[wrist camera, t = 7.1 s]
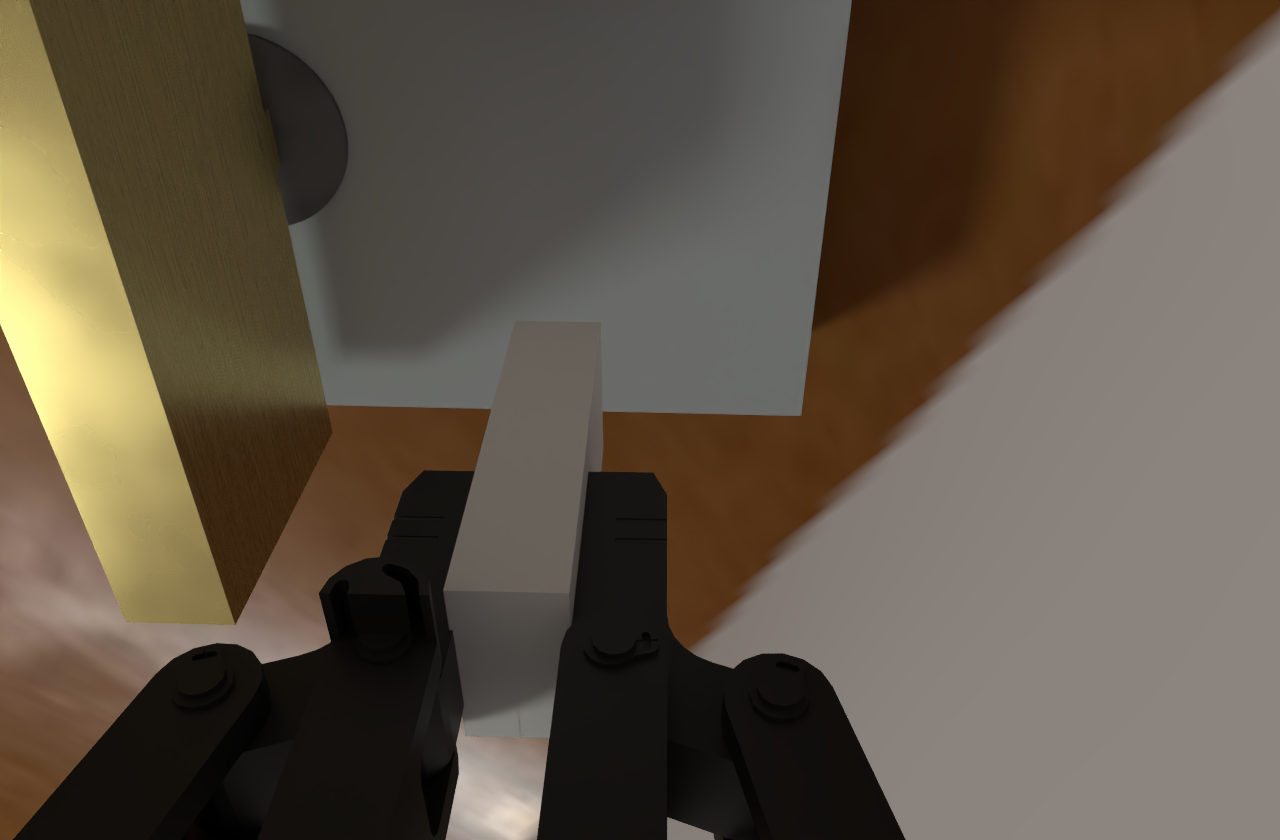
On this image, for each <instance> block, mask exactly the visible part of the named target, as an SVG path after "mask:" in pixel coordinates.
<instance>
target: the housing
mask: <svg viewBox="0 0 1280 840" xmlns="http://www.w3.org/2000/svg"><path fill="white" fill-rule="evenodd" d="M240 2H241V7H242V12H243V17H244V21H245V26H246V31H247V35H248V40H249V45H250V49H251V54H252V59H253V63H254V68H255V73H256V77H257V82H258V87H259V91H260V96H261V101H262V105H263V108H264V109H269V113H270V118H271V123H272V128H273V132H274V137H275V142H276V147H277V151H278V156H279V161H280V166H281V167H280V168H279V169H278V170H277V175H278V180H279V185H280V189H281V194H282V199H283V203H284V208H285V213H286V218H287V222H288V227H289V232H290V236H291V241H292V246H293V250H294V255H295V260H296V264H297V269H298V274H299V278H300V283H301V288H302V292H303V297H304V302H305V306H306V311H307V316H308V320H309V325H310V330H311V334H312V339H313V344H314V348H315V353H316V358H317V362H318V367H319V372H320V376H321V381H322V386H323V390H324V395H325V400H326V404H327V405H348V406H392V407H436V408H479V409H492V405H493V402H494V398H495V394H496V390H497V386H498V383H499V379H500V375H501V371H502V368H503V364H504V360H505V356H506V353H507V349H508V345H509V341H510V338H511V334H512V330H513V326H514V323H515V321H552V322H601V362H602V411H610V412H654V413H698V414H741V415H785V416H801V411H802V403H803V395H804V386H805V378H806V370H807V362H808V354H809V346H810V338H811V329H812V321H813V313H814V305H815V297H816V289H817V280H818V272H819V264H820V256H821V248H822V240H823V232H824V223H825V215H826V207H827V199H828V191H829V183H830V174H831V166H832V158H833V150H834V142H835V134H836V126H837V117H838V109H839V101H840V93H841V85H842V77H843V69H844V60H845V52H846V44H847V36H848V28H849V20H850V11H851V3H852V0H240Z"/></svg>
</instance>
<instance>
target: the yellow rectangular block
mask: <svg viewBox="0 0 1280 840" xmlns="http://www.w3.org/2000/svg"><path fill="white" fill-rule="evenodd" d="M280 167H281V166H280V161H279V156H278V151H277V147H276V142H275V137H274V132H273V128H272V123H271V118H270V113H269V109H264V108H263V105H262V101H261V96H260V91H259V87H258V82H257V77H256V73H255V68H254V63H253V59H252V54H251V49H250V45H249V40H248V35H247V31H246V26H245V21H244V17H243V12H242V7H241V2H240V0H0V324H1V327H2V329H3V331H4V334H5V336H6V338H7V341H8V343H9V346H10V348H11V350H12V353H13V355H14V357H15V360H16V362H17V365H18V367H19V369H20V372H21V374H22V376H23V379H24V381H25V384H26V386H27V388H28V391H29V393H30V395H31V398H32V400H33V403H34V405H35V407H36V410H37V412H38V414H39V417H40V419H41V422H42V424H43V426H44V429H45V431H46V433H47V436H48V438H49V441H50V443H51V445H52V448H53V450H54V452H55V455H56V457H57V460H58V462H59V464H60V467H61V469H62V471H63V474H64V476H65V479H66V481H67V483H68V486H69V488H70V490H71V493H72V495H73V498H74V500H75V502H76V505H77V507H78V509H79V512H80V514H81V517H82V519H83V521H84V524H85V526H86V528H87V531H88V533H89V536H90V538H91V540H92V543H93V545H94V547H95V550H96V552H97V555H98V557H99V559H100V562H101V564H102V566H103V569H104V571H105V574H106V576H107V578H108V581H109V583H110V585H111V588H112V590H113V593H114V595H115V597H116V600H117V602H118V604H119V607H120V609H121V612H122V614H123V616H124V619H125V621H126V622H144V623H180V624H215V625H236V623H237V621H238V619H239V617H240V615H241V613H242V611H243V609H244V607H245V605H246V603H247V601H248V599H249V597H250V595H251V593H252V591H253V589H254V587H255V585H256V583H257V581H258V579H259V577H260V575H261V573H262V571H263V569H264V567H265V565H266V563H267V561H268V559H269V557H270V555H271V553H272V551H273V549H274V547H275V545H276V543H277V541H278V540H279V538H280V536H281V534H282V532H283V530H284V528H285V526H286V524H287V522H288V520H289V518H290V516H291V514H292V512H293V510H294V508H295V506H296V504H297V502H298V500H299V498H300V496H301V494H302V492H303V490H304V488H305V486H306V484H307V482H308V480H309V478H310V476H311V474H312V472H313V470H314V468H315V466H316V464H317V462H318V460H319V458H320V456H321V454H322V453H323V451H324V449H325V447H326V445H327V443H328V441H329V439H330V437H331V435H332V428H331V423H330V418H329V414H328V409H327V404H326V400H325V395H324V390H323V386H322V381H321V376H320V372H319V367H318V362H317V358H316V353H315V348H314V344H313V339H312V334H311V330H310V325H309V320H308V316H307V311H306V306H305V302H304V297H303V292H302V288H301V283H300V278H299V274H298V269H297V264H296V260H295V255H294V250H293V246H292V241H291V236H290V232H289V227H288V222H287V218H286V213H285V208H284V203H283V199H282V194H281V189H280V185H279V180H278V175H277V170H278V169H279V168H280Z"/></svg>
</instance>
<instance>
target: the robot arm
mask: <svg viewBox="0 0 1280 840" xmlns="http://www.w3.org/2000/svg"><path fill="white" fill-rule="evenodd" d="M602 455H603V414H602V362H601V322H552V321H515V323H514V326H513V330H512V334H511V338H510V341H509V345H508V349H507V353H506V356H505V360H504V364H503V368H502V371H501V375H500V379H499V383H498V386H497V390H496V394H495V398H494V402H493V405H492V409H491V413H490V417H489V420H488V424H487V428H486V432H485V435H484V439H483V443H482V447H481V450H480V454H479V458H478V462H477V465H476V469H475V471H423V472H422V473H421V474H420V475H419V476H418V477H417V478H416V479H415V480H414V481H413V482H412V483H411V484H410V485H409V486H408V487H407V488H406V489H405V490H404V491H403V493H402V496H401V499H400V501H399V504H398V507H397V510H396V513H395V515H394V517H395V518H394V520H393V521H392V524H391V527H390V530H389V532H388V539H387V540H386V541H385V544H384V546H383V549H382V552H381V555H380V557H377V558H368V559H364V560H361V561H359V562H356V563H353V564H351V565H348V566H345V567H344V568H343V569H341V570H340V571H339V572H337V573H336V574H335V575H333V576H332V577H330V578H329V579H328V581H327V582H326V584H325V585H324V587H323V588H322V589H321V591H320V592H319V596H320V600H321V604H322V608H323V611H324V615H325V619H326V623H327V627H328V631H329V635H330V639H331V643H329V644H327V645H325V646H324V647H322V648H320V649H318V650H315V651H312V652H309V653H306V654H303V655H299V656H295V657H291V658H287V659H282V660H278V661H274V662H269V663H265V664H261V663H260V661H259V660H258V658H257V657H256V656H255V654H254V653H253V652H252V651H250V650H248V649H246V648H244V647H241V646H239V645H237V644H220V643H216V644H211V645H207V646H202V647H198V648H194V649H192V650H190V651H188V652H186V653H184V654H182V655H180V656H178V657H176V658H174V659H172V660H171V661H170V662H169V663H168V664H167V665H166V666H164V667H163V668H162V669H161V670H160V671H159V672H158V673H156V674H155V676H154V677H153V678H152V679H151V680H150V681H149V682H148V684H147V685H146V686H145V687H144V688H143V689H142V691H141V692H140V693H139V694H138V695H137V696H136V698H135V699H134V700H133V701H132V702H131V703H130V705H129V706H128V707H127V708H126V709H125V710H124V711H123V713H122V714H121V715H120V716H119V717H118V718H117V720H116V721H115V722H114V723H113V724H112V725H111V727H110V728H109V729H108V730H107V731H106V732H105V733H104V735H103V736H102V737H101V738H100V739H99V740H98V742H97V743H96V744H95V745H94V746H93V747H92V749H91V750H90V751H89V752H88V753H87V754H86V756H85V757H84V758H83V759H82V760H81V761H80V762H79V764H78V765H77V766H76V767H75V768H74V769H73V771H72V772H71V773H70V774H69V775H68V776H67V778H66V779H65V780H64V781H63V782H62V783H61V784H60V786H59V787H58V788H57V789H56V790H55V791H54V793H53V794H52V795H51V796H50V797H49V798H48V800H47V801H46V802H45V803H44V804H43V805H42V806H41V808H40V809H39V810H38V811H37V812H36V813H35V815H34V816H33V817H32V818H31V819H30V820H29V822H28V823H27V824H26V825H25V826H24V827H23V829H22V830H21V831H20V832H19V833H18V834H17V835H16V837H15V838H14V839H13V840H445V839H446V834H447V829H448V824H449V819H450V814H451V809H452V804H453V799H454V794H455V789H456V784H457V779H458V774H459V767H458V753H457V747H456V741H457V736H458V732H459V727H460V722H461V718H462V717H463V723H464V730H465V736H483V737H525V738H549V746H548V754H547V762H546V771H545V779H544V787H543V795H542V803H541V811H540V819H539V828H538V836H537V840H667V817H669V818H672V819H675V820H678V821H680V822H683V823H686V824H689V825H692V826H695V827H697V828H700V829H703V830H706V831H708V832H711V833H714V838H715V840H905V838H904V836H903V833H902V831H901V829H900V827H899V825H898V823H897V821H896V819H895V817H894V814H893V812H892V810H891V808H890V806H889V804H888V802H887V800H886V798H885V796H884V793H883V791H882V789H881V787H880V785H879V783H878V781H877V779H876V777H875V775H874V772H873V770H872V768H871V766H870V764H869V762H868V760H867V758H866V756H865V754H864V751H863V750H862V747H861V745H860V743H859V741H858V739H857V737H856V735H855V733H854V730H853V728H852V726H851V724H850V722H849V720H848V718H847V716H846V714H845V712H844V710H843V707H842V705H841V704H840V701H839V699H838V697H837V695H836V693H835V691H834V689H833V687H832V685H831V684H830V683H829V681H828V680H827V678H826V677H825V676H824V674H823V673H822V672H821V671H820V670H818V669H817V668H815V667H814V666H812V665H811V664H809V663H808V662H806V661H805V660H803V659H800V658H797V657H793V656H789V655H786V654H760V655H757V656H754V657H751V658H748V659H745V660H743V661H742V662H741V663H740V664H739V665H737V666H736V667H735V668H734V669H732V668H729V667H726V666H722V665H719V664H716V663H712V662H710V661H707V660H705V659H702V658H700V657H698V656H696V655H694V654H693V653H691V652H690V651H688V650H687V649H685V648H684V647H683V646H682V645H681V644H680V643H679V642H678V640H677V639H676V638H675V637H674V635H673V633H672V631H671V629H670V627H669V624H668V618H667V494H666V492H665V491H664V489H663V488H662V486H661V484H660V483H659V481H658V480H657V478H656V476H655V475H654V473H637V472H601V466H602Z"/></svg>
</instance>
